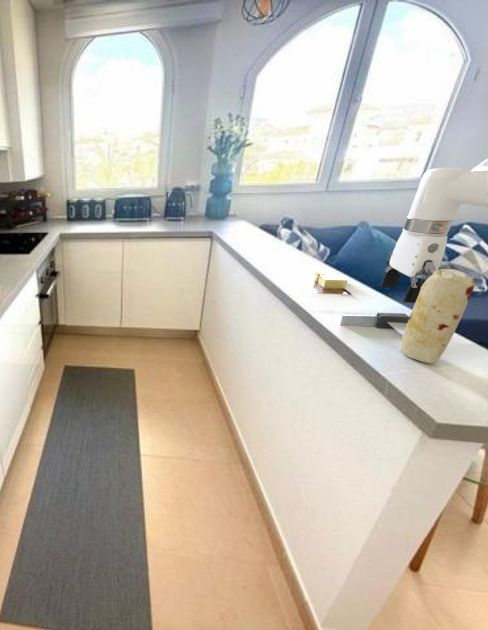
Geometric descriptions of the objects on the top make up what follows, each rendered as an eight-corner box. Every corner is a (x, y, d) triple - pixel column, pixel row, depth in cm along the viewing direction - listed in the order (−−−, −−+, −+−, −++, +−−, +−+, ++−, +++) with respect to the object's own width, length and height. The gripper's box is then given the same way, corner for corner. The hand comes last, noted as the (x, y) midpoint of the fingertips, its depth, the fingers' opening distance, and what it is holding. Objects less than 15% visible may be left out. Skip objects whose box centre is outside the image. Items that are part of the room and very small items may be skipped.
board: (335, 281, 120) (336, 276, 120) (357, 298, 106) (359, 294, 106) (290, 280, 124) (291, 276, 123) (306, 297, 110) (307, 293, 109)
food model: (449, 369, 73) (493, 281, 65) (410, 365, 75) (447, 279, 67) (423, 345, 81) (459, 265, 73) (388, 343, 84) (419, 264, 75)
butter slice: (334, 280, 117) (336, 271, 116) (336, 282, 116) (339, 273, 114) (314, 279, 119) (316, 271, 118) (316, 281, 117) (318, 273, 116)
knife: (342, 326, 92) (345, 314, 90) (338, 322, 94) (342, 311, 92) (405, 329, 89) (410, 317, 87) (400, 325, 90) (404, 313, 89)
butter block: (338, 283, 115) (340, 274, 113) (345, 288, 110) (347, 280, 109) (317, 282, 116) (319, 274, 115) (323, 288, 112) (326, 279, 110)
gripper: (476, 235, 71) (441, 309, 78) (421, 218, 86) (396, 282, 93) (431, 234, 72) (401, 308, 80) (386, 218, 87) (364, 281, 95)
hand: (399, 294), depth 86 cm, fingers open, 9 cm apart
